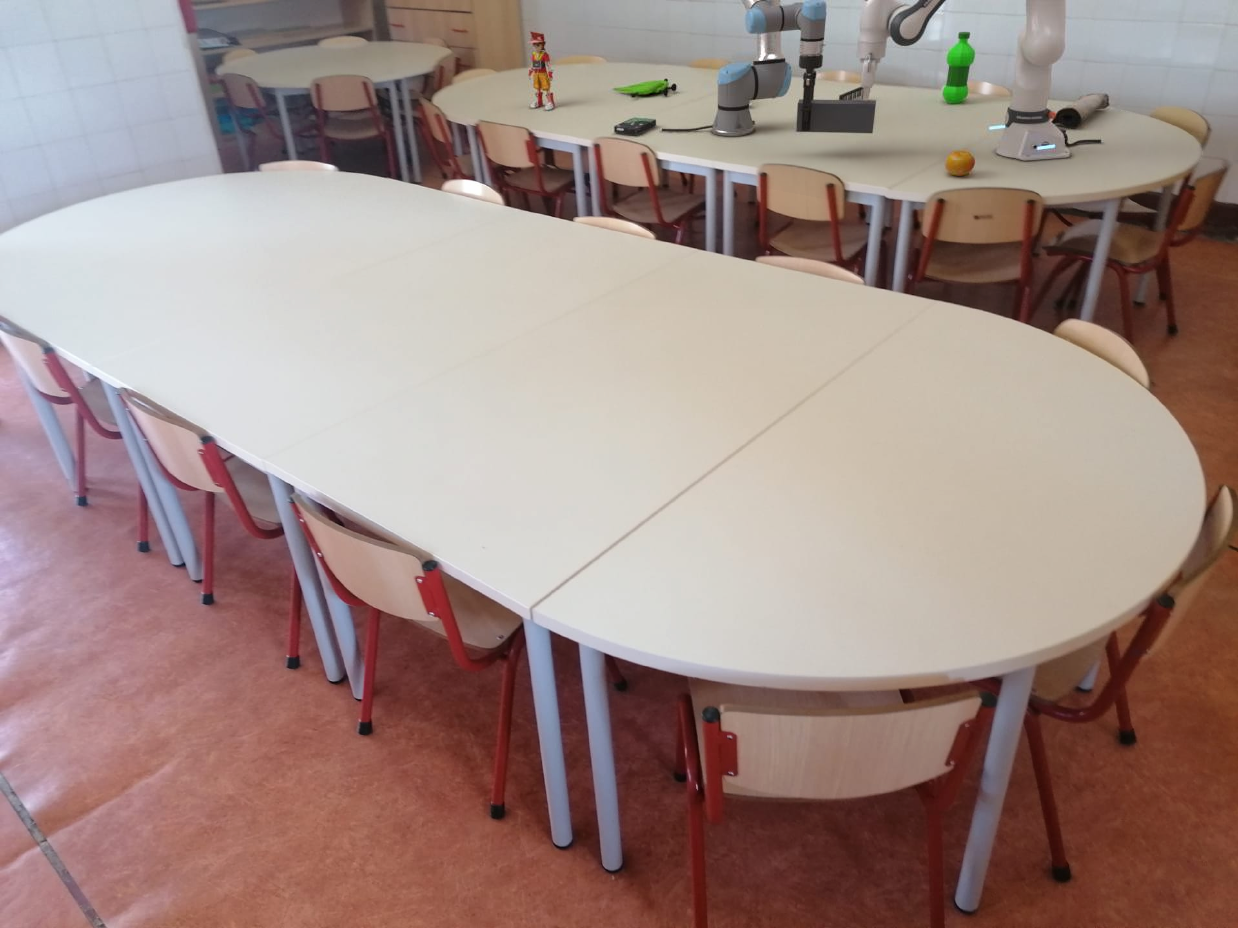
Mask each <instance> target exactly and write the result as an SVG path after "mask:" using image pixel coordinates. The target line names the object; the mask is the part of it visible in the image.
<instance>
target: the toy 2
mask: <svg viewBox="0 0 1238 928" xmlns="http://www.w3.org/2000/svg"><path fill="white" fill-rule="evenodd" d="M669 85H670V83H669V79H668V78H664V79H663V80H649V81H644V82H640V83H634V84H629V85H627V86H621V87H613V88H612V89H613V90H616V91H619V92H623V93H627V94H628V93H629V94H631V95H630V96H631V98H632V99H634V98H636V96H637V95H650V94H652V93H654V94H658V93H662V95H663V96H665V97H667V96H668V95H669V90H671V91H672V92H676V91H677V84H676V83H672V84H671V86H669Z"/></svg>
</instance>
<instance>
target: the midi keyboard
mask: <svg viewBox="0 0 1238 928" xmlns="http://www.w3.org/2000/svg"><path fill="white" fill-rule="evenodd" d="M838 100H863V88H862V87H861V86H859V87H857V88H854V89H851V90H849V91H846V92H844V93H842V94H839V96H838Z"/></svg>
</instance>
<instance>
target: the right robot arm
mask: <svg viewBox="0 0 1238 928" xmlns="http://www.w3.org/2000/svg"><path fill="white" fill-rule="evenodd" d="M946 1H947V0H917V1H915V3H914V4H913V5H911V4H909V3H905V2H902V1H901V0H863V3H862V7H861V13H860V19H859V36H858V38H857V49H856V58H859V63H861V64H862V71H861V79H860V81H861V82H860V87H862V88H863V100H870V99H869V98H870V93H871V89H872V88H873V86H874V82H875V77H876V72H877V68H878V64H879V63H881V60H882V59H883V58H885V57H886V51H887V41H888V38H891V39H892V41H893V42H894V43H895V44H896V45H898V46H901V47H910V46H912V45H914V44H916V43H917V42H919V40H921V38H922V37H923V35H924V33H925V31H926V29H927V26H928V24H929V22H930V20H931V19H932V17H933V16H934V15H935V14H936V13H937V11H938V10H939V9H940V8H941V7H942V6H943V4H944V3H945V2H946ZM1066 2H1067V0H1025V14H1026V18H1025V20H1026V22H1025V23H1026V24H1024V26H1023V27H1021V29H1020V30H1019V32H1018V35H1017V45H1016V52H1015V61H1014V62H1015V63H1014V79H1013V85H1012V90H1011V91H1012V92H1011V96H1010V102H1009V106H1008V107H1007V110H1006V113H1005V118H1004V124H1003V125H993V126H989V130H997V129H1003V132H1002V135H1001V138H1000V141H999V142H998V145H997V147H996V149H995V152H996V154H997V155H1000V156H1003V157H1006V158H1011V159H1017V160H1020V161H1023V162H1024V161H1025V162H1026V161H1039V160H1040V161H1041V160H1052V159H1053V160H1054V159H1064V158H1065V159H1067V158H1069V157H1070V155H1071V150H1070V149H1069V148H1070V147H1073V146H1076V145H1078V144H1088V143H1089V144H1091V143H1093V144H1094V143H1095V144H1096V143H1097V144H1098V143H1102V139H1100V138H1099V139H1079V140H1076V141H1073V142H1072V143H1069V139H1068V138H1069V137H1068V134H1067V129H1065V128H1062V127H1061V128H1060V127H1058V126H1057V125H1056V124H1053V123H1052V120H1053V119H1054V117H1056V112H1055V111H1053V110H1051V109H1049V108H1047V105H1048V101H1049V96H1050V92H1051V86H1052V71H1053V70H1052V69H1053V68H1052V67H1053V65H1054V64H1055V63H1057V62H1058V61H1059V60H1060V59H1061V58H1062V56H1063V55H1064V53H1065V49H1066V39H1065V38H1066V19H1067V18H1066ZM1068 147H1069V148H1068Z"/></svg>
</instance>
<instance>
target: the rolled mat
mask: <svg viewBox="0 0 1238 928" xmlns="http://www.w3.org/2000/svg"><path fill="white" fill-rule="evenodd" d="M1109 101H1110V97H1109V94H1108V93H1102V92H1095V93H1090V94H1083V95H1081V96H1079V98H1078V100H1075V101H1073V102H1071V103H1070V104H1067V105H1065V106H1064V107H1062V108H1060V109H1059V110H1058V111H1056V112H1055V114H1056V117H1054V119H1051V122H1052V123H1053V124H1054V125H1062V126H1063V127H1064V128H1069V129H1070V128H1071V129H1077V128H1078V127H1080V126H1081V125H1082V124H1083V123H1084V122H1085V120H1086V119H1087V118H1088V117H1090V116H1092V114H1093V113H1095V112H1096V111H1098V110H1104V109H1107V108H1108V107H1109V106H1110V102H1109Z"/></svg>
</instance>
